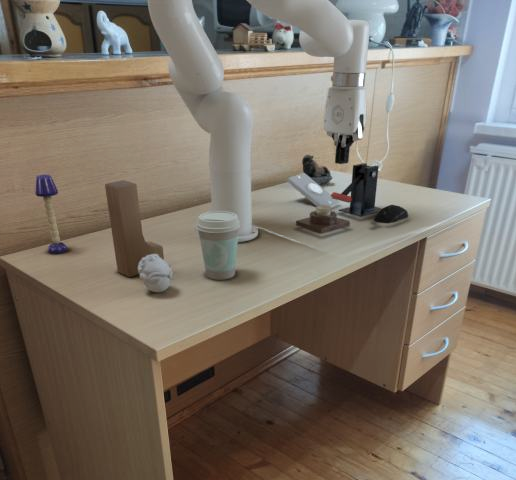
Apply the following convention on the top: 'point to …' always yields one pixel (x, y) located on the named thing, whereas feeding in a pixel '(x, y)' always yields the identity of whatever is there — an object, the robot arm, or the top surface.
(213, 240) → the coffee cup
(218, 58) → the robot arm
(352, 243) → the top surface
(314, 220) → the button block
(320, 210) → the button
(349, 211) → the bracket
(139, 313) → the top surface
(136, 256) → the wooden block
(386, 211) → the gaming mouse
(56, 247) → the toy lamp
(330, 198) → the light switch
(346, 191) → the lever
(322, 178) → the bison figurine
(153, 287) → the frog figurine
